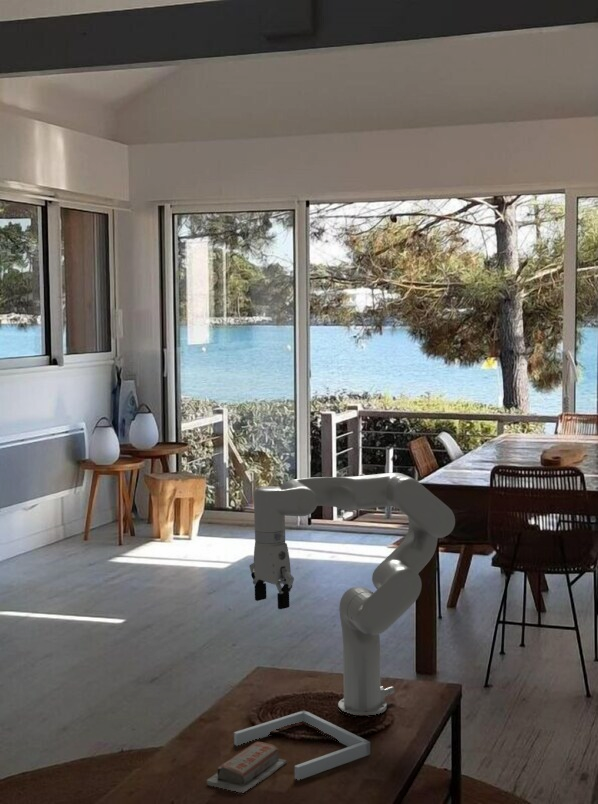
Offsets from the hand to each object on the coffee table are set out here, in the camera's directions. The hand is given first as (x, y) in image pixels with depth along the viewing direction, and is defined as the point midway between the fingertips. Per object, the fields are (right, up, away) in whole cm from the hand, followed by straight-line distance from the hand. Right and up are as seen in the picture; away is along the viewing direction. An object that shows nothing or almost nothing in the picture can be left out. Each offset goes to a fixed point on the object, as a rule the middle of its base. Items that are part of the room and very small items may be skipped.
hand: (272, 603), depth 280 cm
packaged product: (-5, -34, -26) cm, 44 cm away
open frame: (+7, -32, -14) cm, 36 cm away
